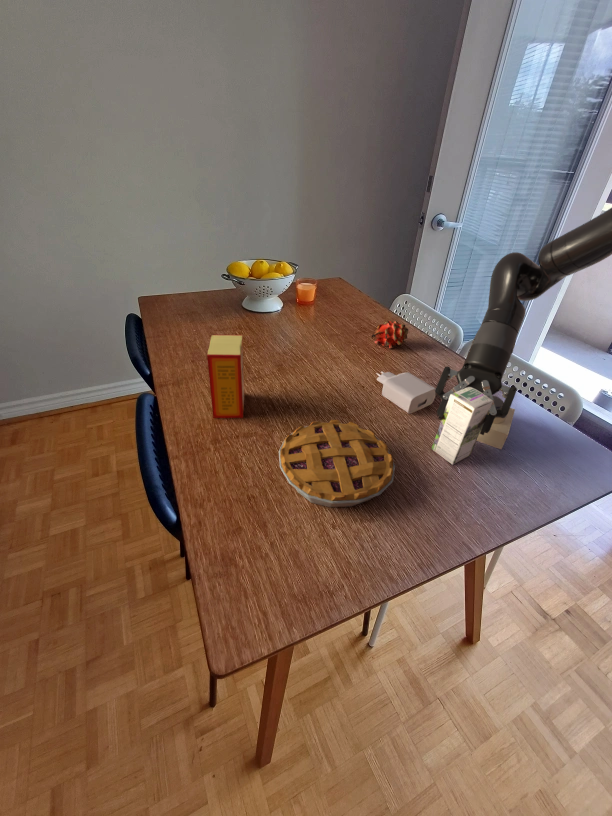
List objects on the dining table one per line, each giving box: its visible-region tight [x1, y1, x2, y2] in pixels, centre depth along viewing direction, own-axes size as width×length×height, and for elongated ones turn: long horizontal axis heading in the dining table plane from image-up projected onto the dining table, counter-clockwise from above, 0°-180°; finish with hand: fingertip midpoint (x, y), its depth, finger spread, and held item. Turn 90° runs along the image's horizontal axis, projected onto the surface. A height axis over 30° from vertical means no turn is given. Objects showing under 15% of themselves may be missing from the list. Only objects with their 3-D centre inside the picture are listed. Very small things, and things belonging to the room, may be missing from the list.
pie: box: [278, 419, 396, 508], centre depth 75 cm, size 22×22×5 cm
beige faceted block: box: [476, 407, 516, 450], centre depth 89 cm, size 10×11×6 cm
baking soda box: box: [206, 334, 245, 419], centre depth 87 cm, size 10×6×16 cm
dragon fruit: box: [371, 319, 409, 350], centre depth 120 cm, size 8×8×12 cm
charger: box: [375, 370, 436, 415], centre depth 99 cm, size 5×9×15 cm
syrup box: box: [431, 387, 493, 465], centre depth 79 cm, size 6×6×14 cm
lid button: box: [492, 395, 504, 410], centre depth 87 cm, size 4×4×2 cm
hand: (460, 426), depth 77 cm, fingers closed on syrup box, 7 cm apart
